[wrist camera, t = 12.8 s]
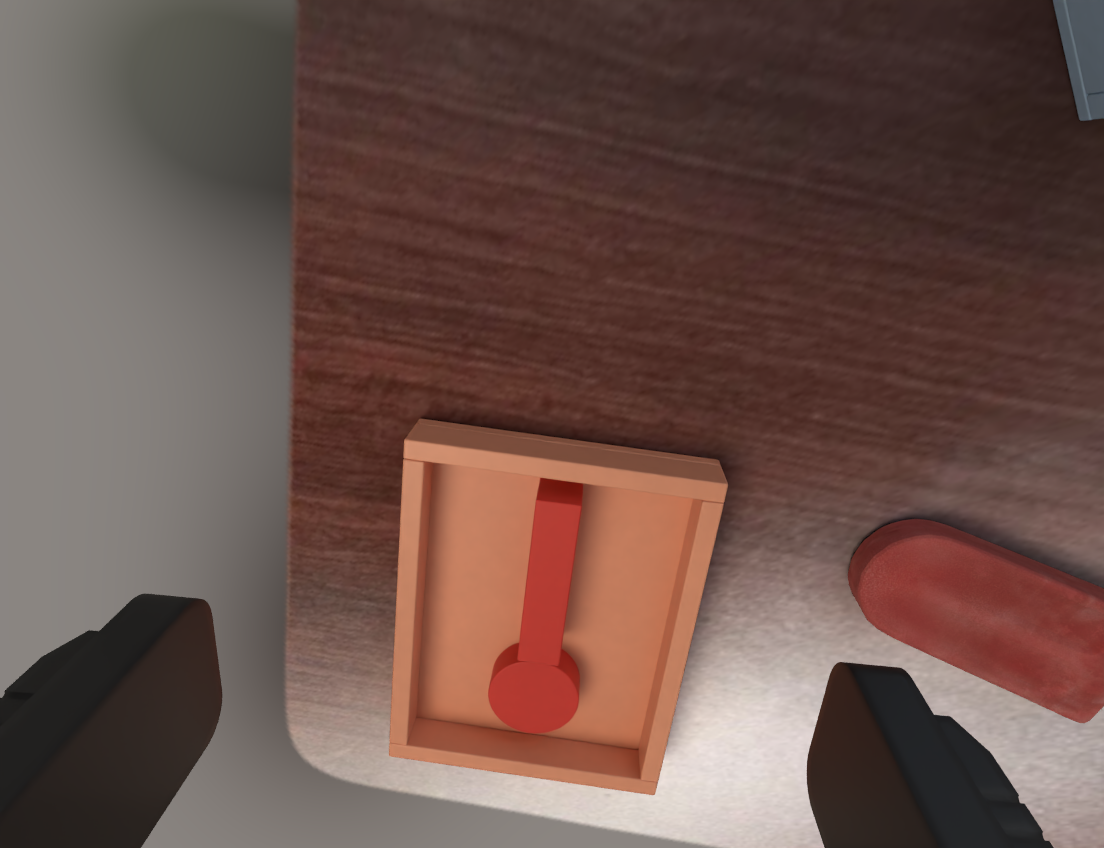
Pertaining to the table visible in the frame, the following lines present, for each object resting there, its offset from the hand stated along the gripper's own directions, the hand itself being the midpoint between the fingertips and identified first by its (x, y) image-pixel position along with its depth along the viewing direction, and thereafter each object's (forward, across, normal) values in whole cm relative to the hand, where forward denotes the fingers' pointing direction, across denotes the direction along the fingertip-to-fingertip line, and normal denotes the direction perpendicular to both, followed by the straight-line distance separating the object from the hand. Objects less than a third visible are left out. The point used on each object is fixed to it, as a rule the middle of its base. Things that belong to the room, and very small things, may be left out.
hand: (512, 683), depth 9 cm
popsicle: (+15, -18, +8) cm, 25 cm away
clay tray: (+15, 0, +9) cm, 18 cm away
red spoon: (+14, 0, +9) cm, 17 cm away
